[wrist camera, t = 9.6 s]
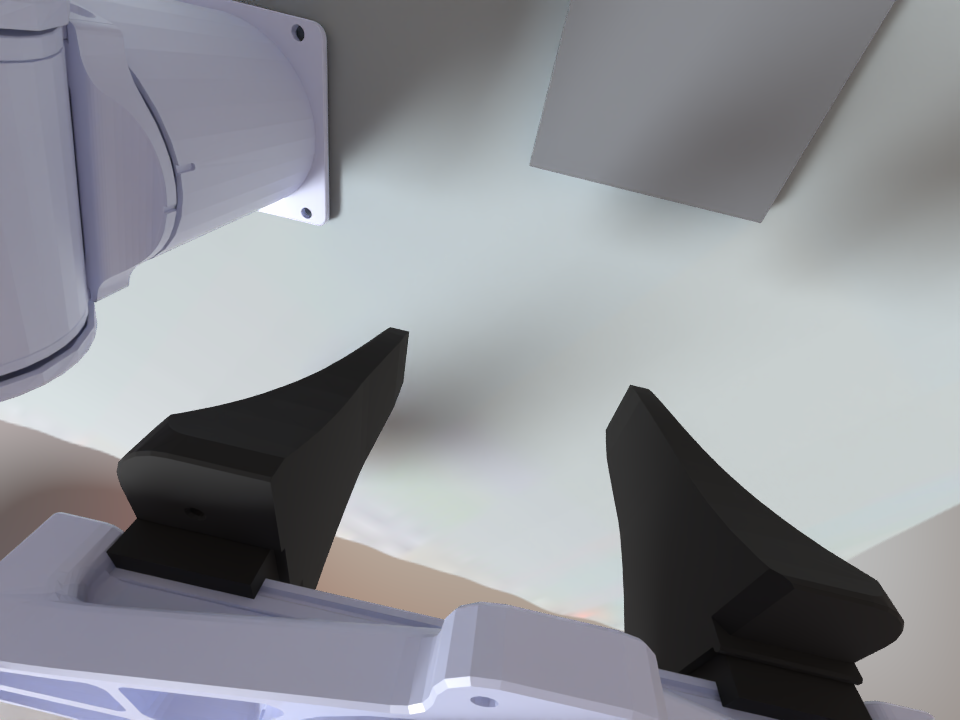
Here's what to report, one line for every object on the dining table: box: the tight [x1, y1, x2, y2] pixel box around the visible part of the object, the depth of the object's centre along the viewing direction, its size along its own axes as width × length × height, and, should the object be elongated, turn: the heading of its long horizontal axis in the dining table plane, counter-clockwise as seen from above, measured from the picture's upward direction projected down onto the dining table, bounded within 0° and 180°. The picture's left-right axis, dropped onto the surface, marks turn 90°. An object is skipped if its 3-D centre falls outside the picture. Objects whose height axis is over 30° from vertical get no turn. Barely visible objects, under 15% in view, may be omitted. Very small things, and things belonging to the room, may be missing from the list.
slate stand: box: [530, 0, 896, 223], centre depth 15 cm, size 10×10×1 cm
